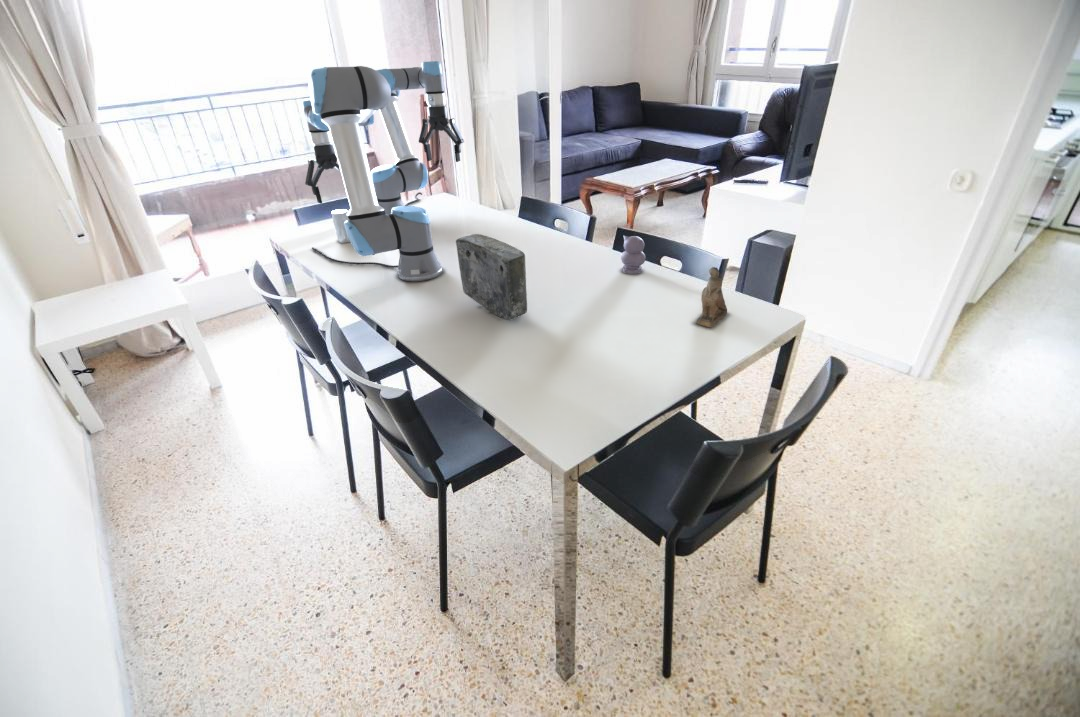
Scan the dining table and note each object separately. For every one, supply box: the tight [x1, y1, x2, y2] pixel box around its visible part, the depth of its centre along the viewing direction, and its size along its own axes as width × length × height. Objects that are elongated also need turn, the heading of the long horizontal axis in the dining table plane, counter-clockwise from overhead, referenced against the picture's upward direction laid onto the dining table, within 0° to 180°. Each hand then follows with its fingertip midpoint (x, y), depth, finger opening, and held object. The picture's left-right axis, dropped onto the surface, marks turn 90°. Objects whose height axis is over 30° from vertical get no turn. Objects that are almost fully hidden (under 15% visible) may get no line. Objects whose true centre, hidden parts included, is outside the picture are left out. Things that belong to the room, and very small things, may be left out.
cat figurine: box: [620, 234, 646, 275], centre depth 168 cm, size 9×8×12 cm
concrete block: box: [455, 233, 528, 321], centre depth 143 cm, size 27×9×20 cm, turn 36°
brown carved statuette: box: [695, 266, 728, 328], centre depth 135 cm, size 12×6×18 cm, turn 136°
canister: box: [331, 208, 351, 244], centre depth 209 cm, size 6×6×12 cm
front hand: (336, 199), depth 203 cm, fingers open, 13 cm apart
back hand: (443, 161), depth 212 cm, fingers open, 13 cm apart
